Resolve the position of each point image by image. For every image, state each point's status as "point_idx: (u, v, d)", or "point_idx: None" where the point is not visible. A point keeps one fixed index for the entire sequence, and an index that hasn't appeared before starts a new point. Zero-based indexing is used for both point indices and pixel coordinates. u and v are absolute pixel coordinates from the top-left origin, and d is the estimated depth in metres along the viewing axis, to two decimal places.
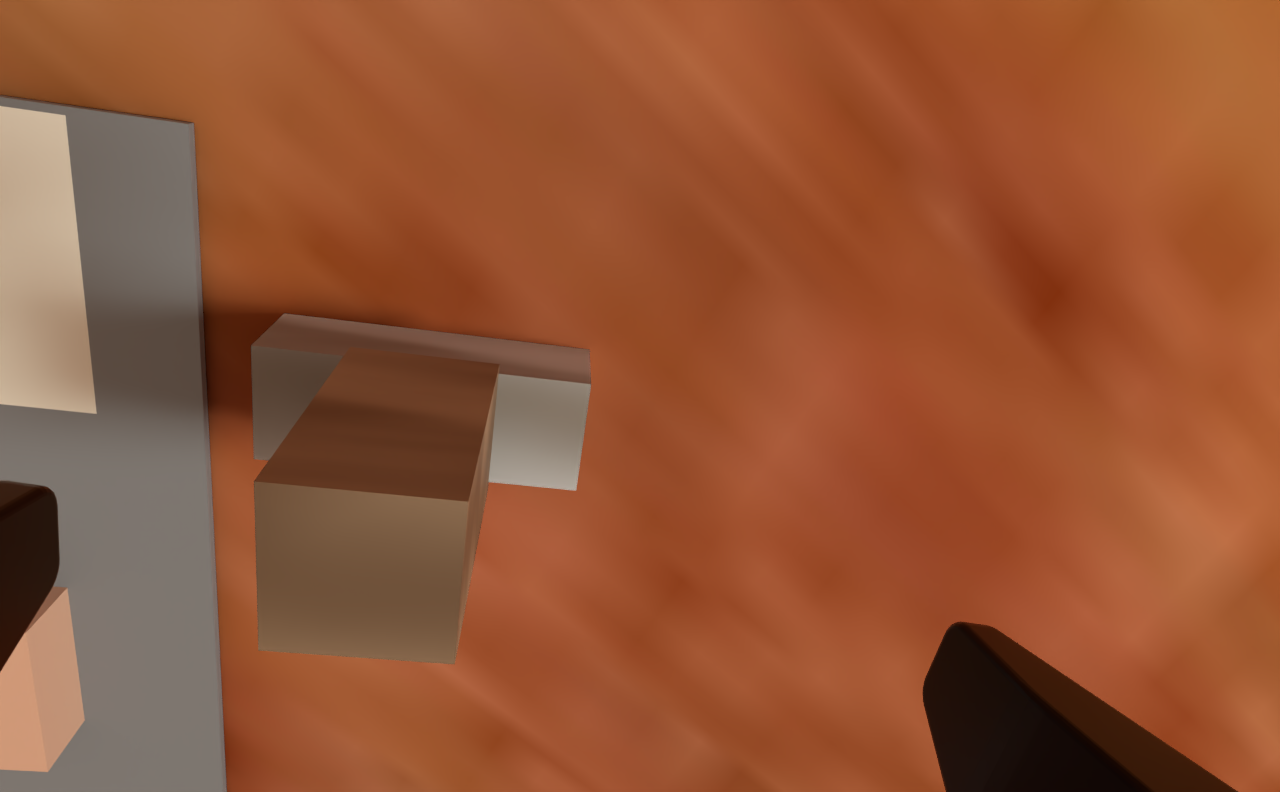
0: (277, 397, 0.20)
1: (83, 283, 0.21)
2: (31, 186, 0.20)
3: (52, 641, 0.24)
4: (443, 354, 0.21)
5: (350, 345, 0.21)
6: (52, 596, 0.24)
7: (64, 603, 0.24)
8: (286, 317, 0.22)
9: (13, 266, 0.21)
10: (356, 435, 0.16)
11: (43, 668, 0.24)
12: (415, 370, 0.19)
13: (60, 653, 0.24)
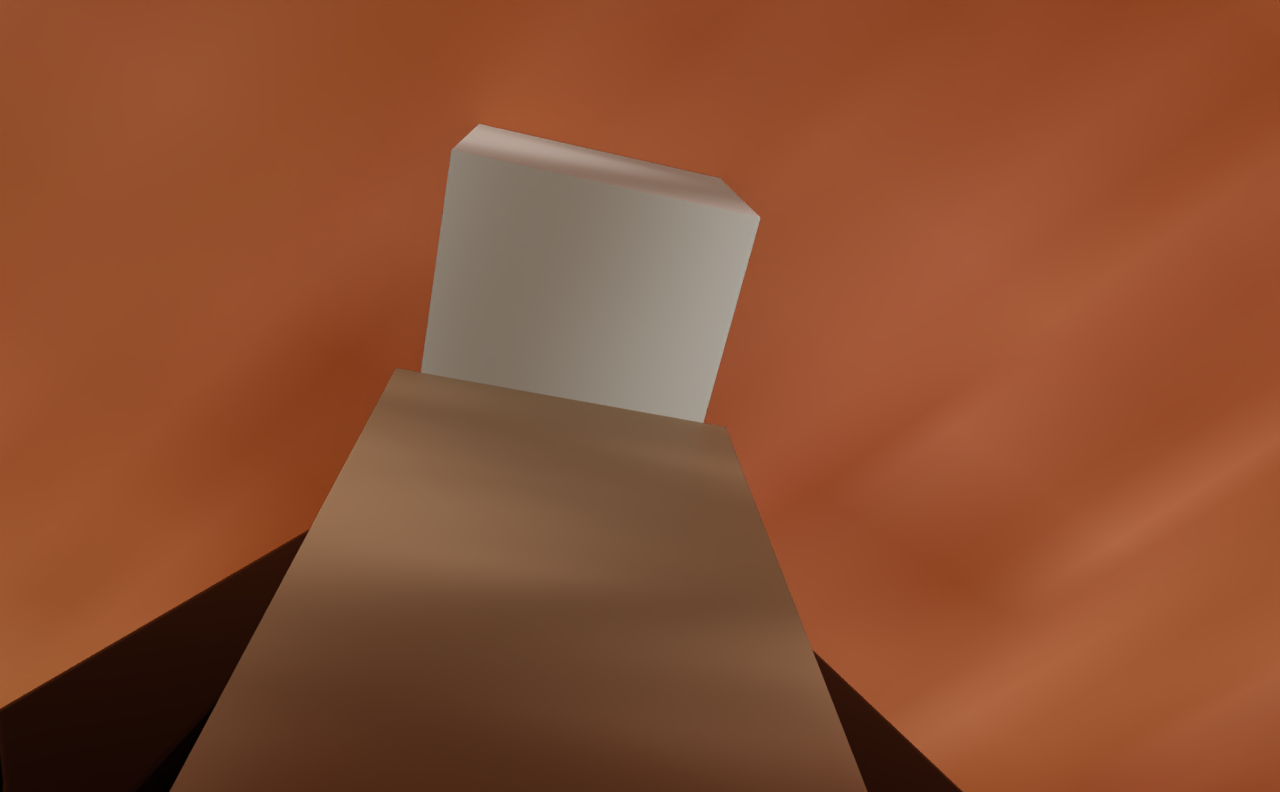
0: None
1: None
2: None
3: None
4: None
5: None
6: None
7: None
8: None
9: None
10: None
11: None
12: None
13: None
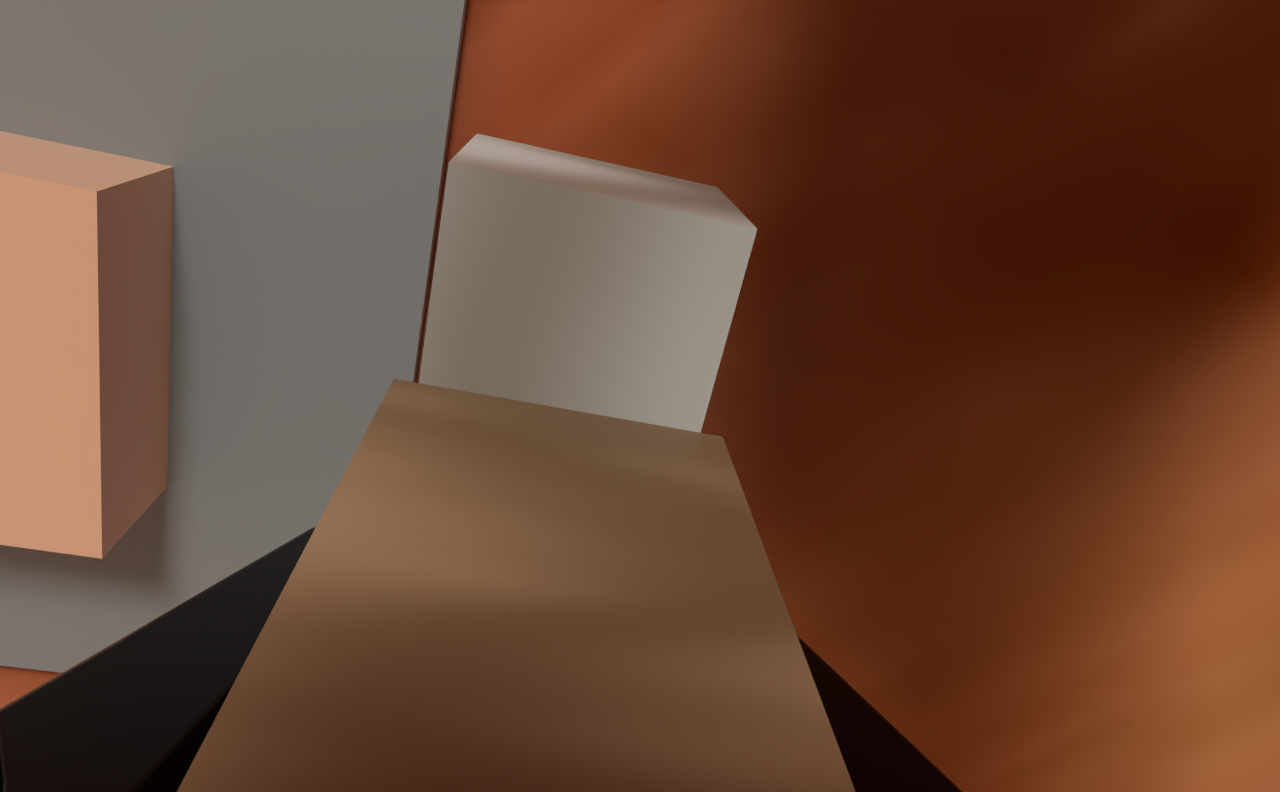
0: None
1: None
2: None
3: None
4: None
5: None
6: None
7: None
8: None
9: None
10: None
11: None
12: None
13: None
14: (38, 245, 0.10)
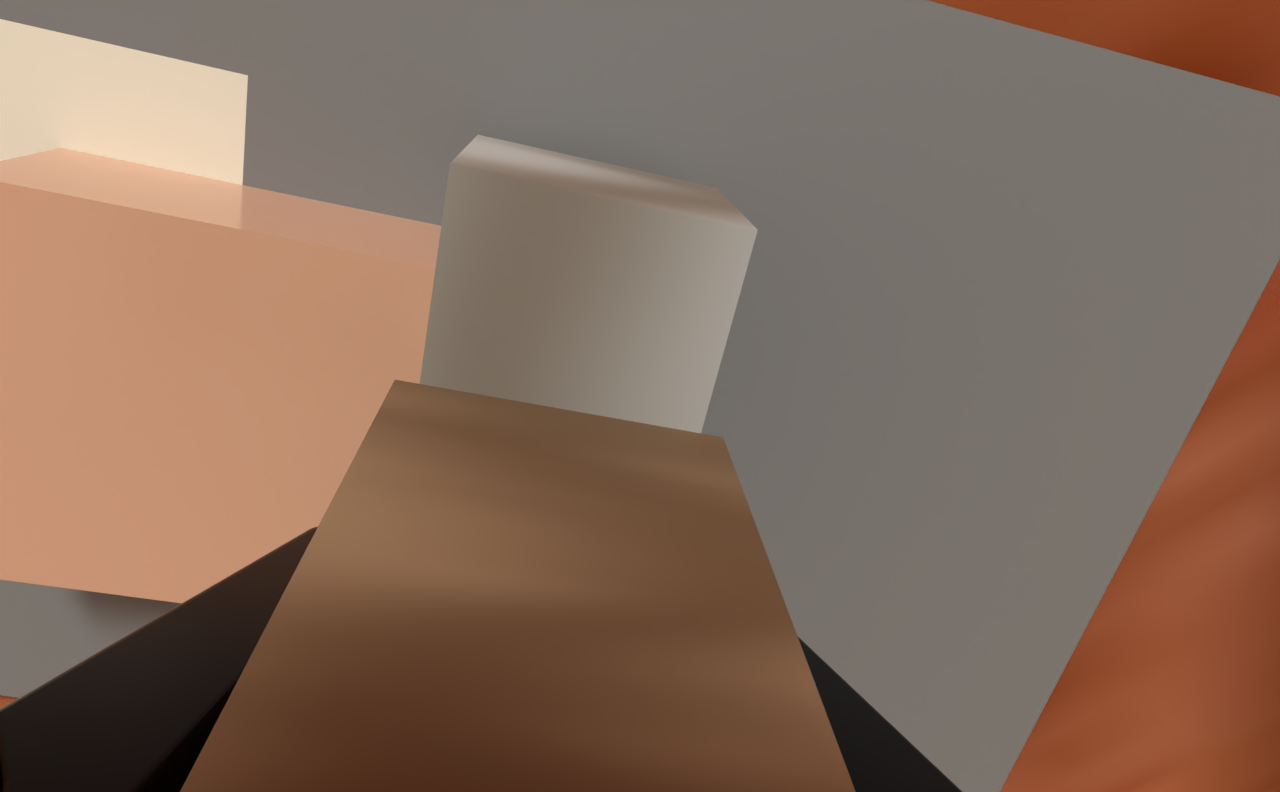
0: None
1: None
2: None
3: (118, 179, 0.10)
4: None
5: None
6: None
7: (85, 156, 0.10)
8: None
9: None
10: None
11: (142, 197, 0.09)
12: None
13: (188, 188, 0.10)
14: (380, 323, 0.10)
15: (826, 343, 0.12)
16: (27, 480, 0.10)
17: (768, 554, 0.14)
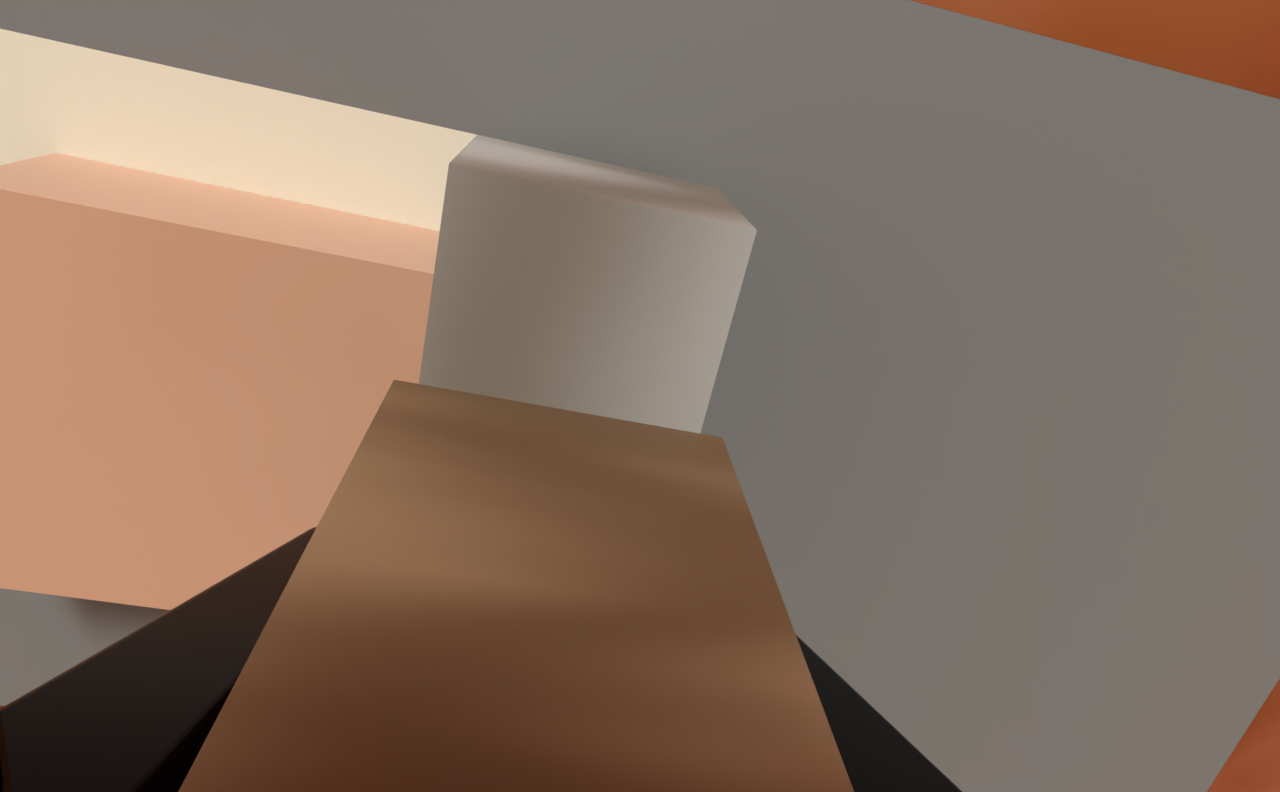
0: None
1: (289, 92, 0.10)
2: (89, 127, 0.10)
3: (113, 185, 0.10)
4: None
5: None
6: None
7: (80, 161, 0.10)
8: None
9: None
10: None
11: (138, 203, 0.09)
12: None
13: (185, 193, 0.10)
14: (377, 330, 0.09)
15: (1080, 398, 0.13)
16: (22, 487, 0.10)
17: (1001, 595, 0.14)
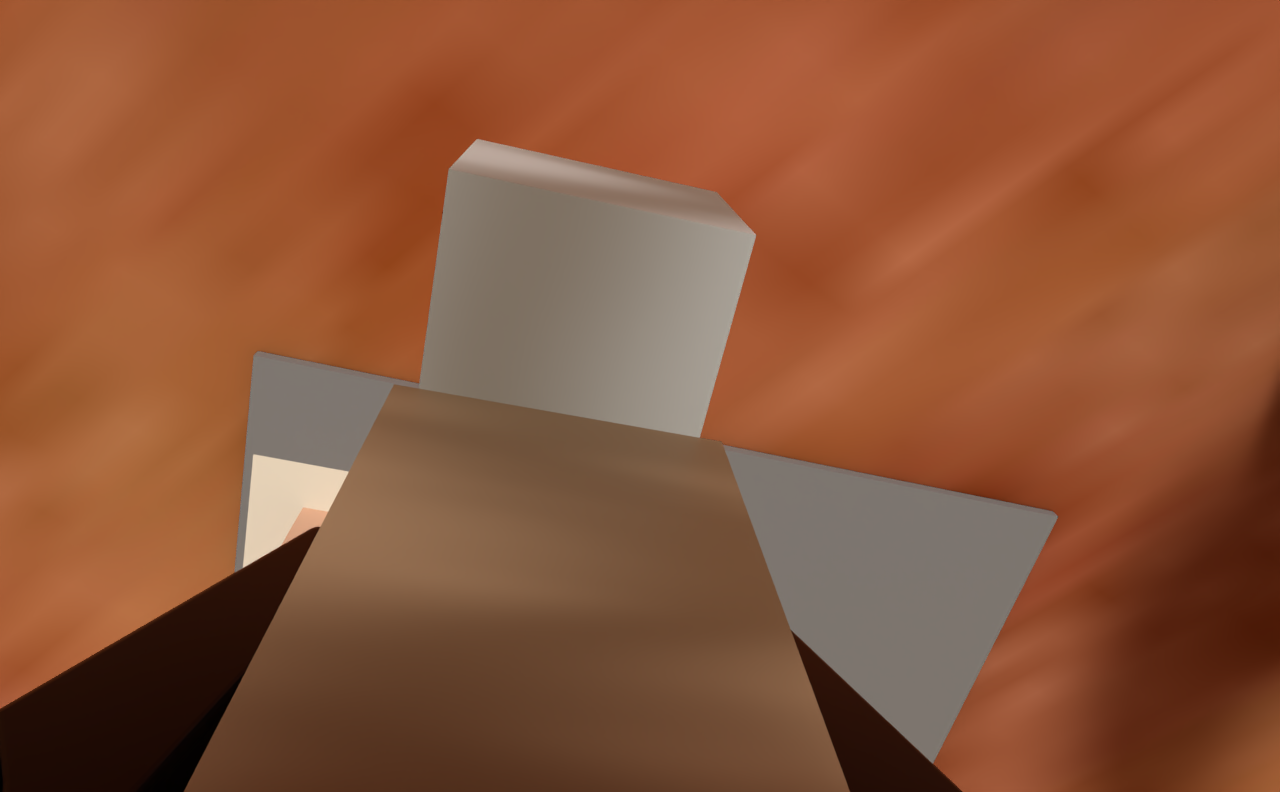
0: None
1: None
2: (320, 497, 0.22)
3: None
4: None
5: None
6: (297, 521, 0.22)
7: (315, 514, 0.22)
8: None
9: None
10: None
11: None
12: None
13: None
14: None
15: (806, 611, 0.25)
16: None
17: None
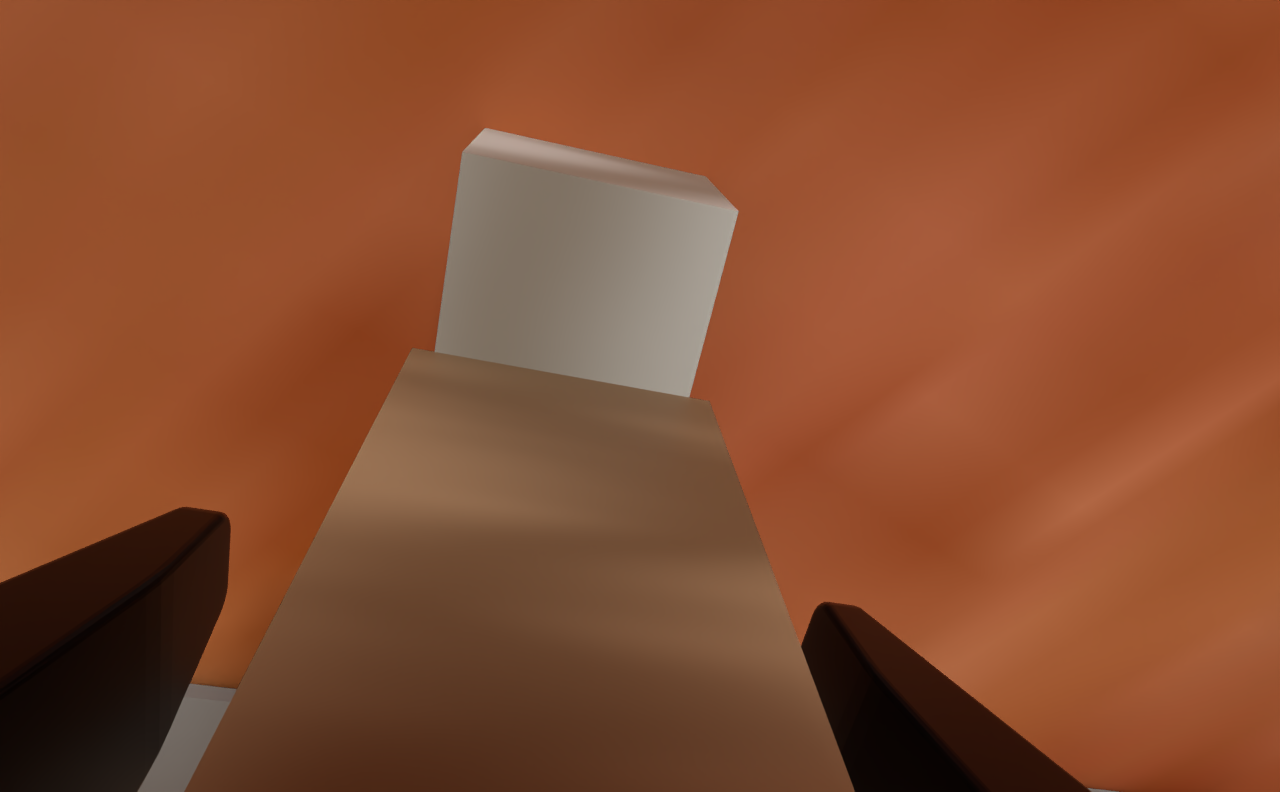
0: None
1: None
2: None
3: None
4: None
5: None
6: None
7: None
8: None
9: None
10: None
11: None
12: None
13: None
14: None
15: None
16: None
17: None
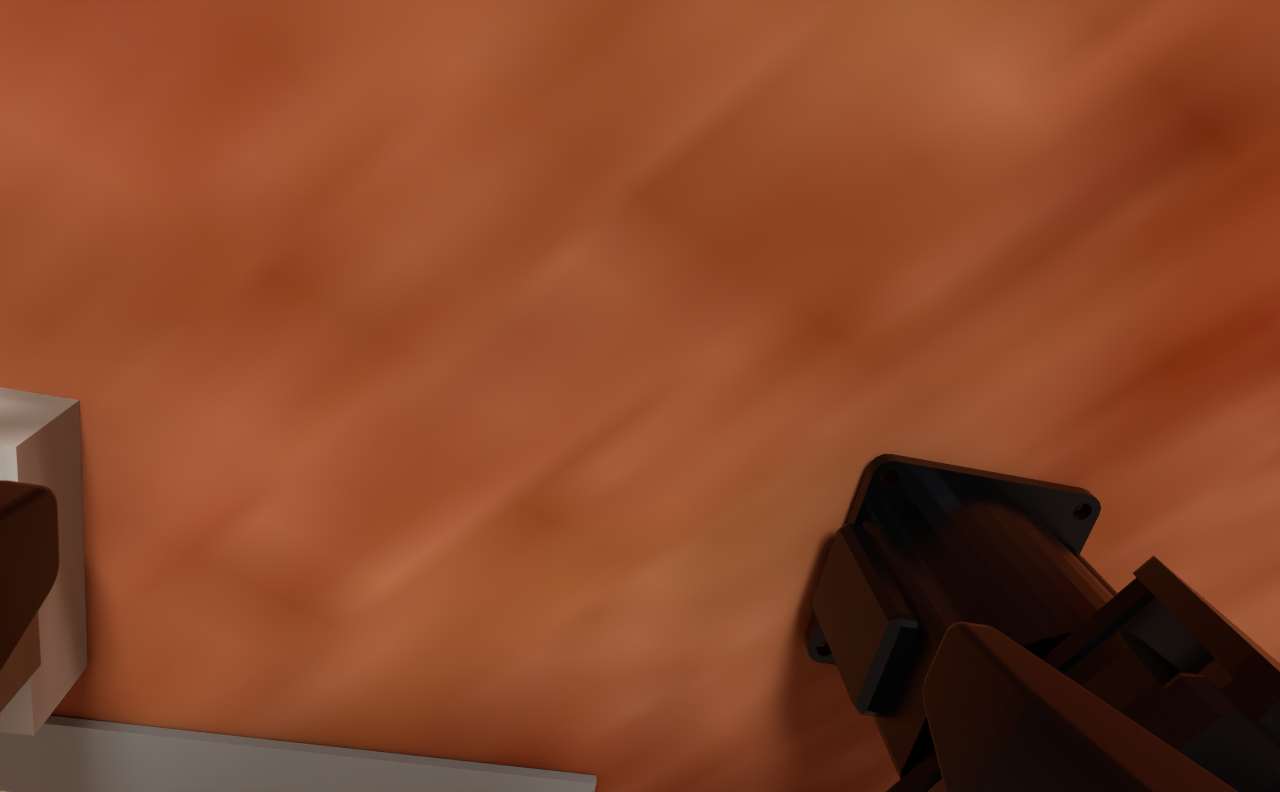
0: None
1: None
2: None
3: None
4: None
5: None
6: None
7: None
8: None
9: None
10: None
11: None
12: None
13: None
14: None
15: None
16: None
17: None
